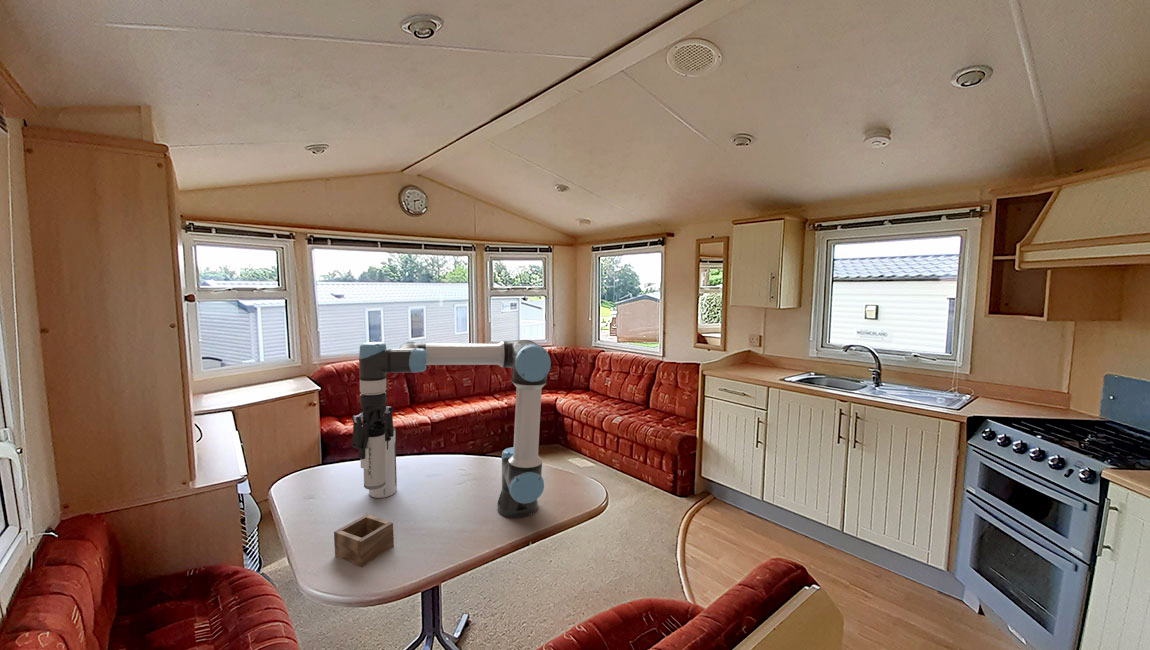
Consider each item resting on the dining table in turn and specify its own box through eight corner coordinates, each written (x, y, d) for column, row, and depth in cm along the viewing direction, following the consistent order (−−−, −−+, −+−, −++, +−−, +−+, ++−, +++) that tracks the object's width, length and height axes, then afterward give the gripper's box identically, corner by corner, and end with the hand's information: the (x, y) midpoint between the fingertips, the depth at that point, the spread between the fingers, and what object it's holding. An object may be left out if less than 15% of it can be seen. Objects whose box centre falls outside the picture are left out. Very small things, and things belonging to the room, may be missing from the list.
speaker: (397, 496, 180) (395, 432, 177) (368, 500, 176) (365, 435, 173) (396, 485, 190) (395, 424, 187) (369, 489, 186) (367, 427, 183)
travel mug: (379, 479, 148) (378, 419, 146) (389, 485, 144) (388, 423, 142) (359, 485, 143) (358, 423, 141) (369, 491, 139) (368, 428, 137)
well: (393, 546, 146) (393, 522, 145) (362, 567, 135) (361, 541, 135) (367, 536, 151) (366, 514, 151) (335, 556, 141) (333, 531, 140)
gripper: (389, 384, 151) (390, 452, 153) (336, 397, 133) (338, 472, 136) (406, 387, 147) (406, 456, 149) (354, 400, 130) (355, 478, 132)
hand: (374, 464), depth 142 cm, fingers closed on travel mug, 6 cm apart
